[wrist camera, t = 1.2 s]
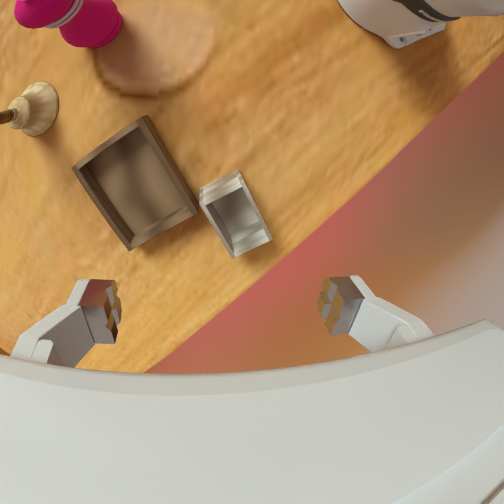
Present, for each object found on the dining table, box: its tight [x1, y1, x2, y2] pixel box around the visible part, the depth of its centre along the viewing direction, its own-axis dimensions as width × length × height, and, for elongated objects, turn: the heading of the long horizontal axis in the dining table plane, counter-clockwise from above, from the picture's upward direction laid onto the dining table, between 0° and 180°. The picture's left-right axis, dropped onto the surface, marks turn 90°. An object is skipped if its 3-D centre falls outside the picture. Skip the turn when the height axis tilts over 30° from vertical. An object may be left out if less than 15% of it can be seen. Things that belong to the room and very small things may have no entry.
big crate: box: [72, 115, 199, 251], centre depth 34 cm, size 12×15×4 cm
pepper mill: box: [14, 0, 122, 48], centre depth 14 cm, size 7×7×20 cm
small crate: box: [199, 169, 273, 259], centre depth 38 cm, size 6×9×6 cm, turn 25°
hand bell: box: [0, 82, 58, 136], centre depth 20 cm, size 8×8×16 cm
